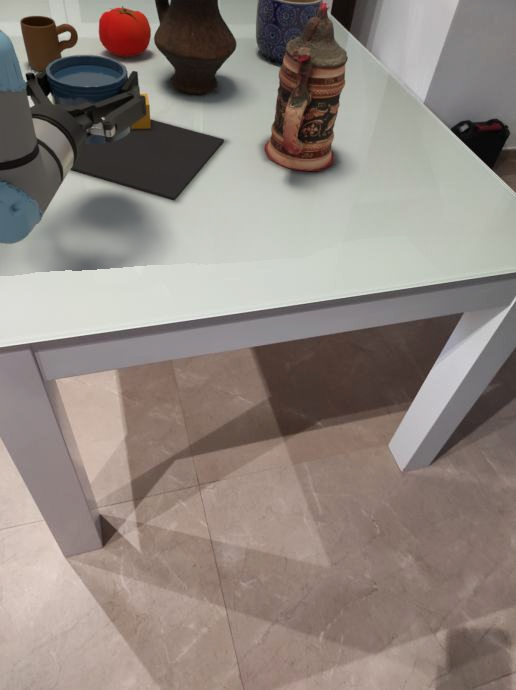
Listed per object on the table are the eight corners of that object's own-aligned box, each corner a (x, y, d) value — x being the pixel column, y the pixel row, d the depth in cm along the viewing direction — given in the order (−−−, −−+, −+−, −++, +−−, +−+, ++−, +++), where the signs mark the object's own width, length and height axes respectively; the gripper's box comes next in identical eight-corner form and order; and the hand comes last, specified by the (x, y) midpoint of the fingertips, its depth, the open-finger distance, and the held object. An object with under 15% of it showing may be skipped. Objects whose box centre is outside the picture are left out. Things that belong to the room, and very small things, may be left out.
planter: (321, 54, 144) (332, -7, 133) (299, 73, 134) (309, 8, 122) (268, 39, 147) (274, -22, 136) (242, 57, 137) (247, -8, 126)
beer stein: (303, 141, 115) (235, 150, 106) (328, -8, 97) (249, -12, 88) (352, 170, 105) (282, 183, 96) (391, 10, 87) (309, 7, 78)
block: (126, 129, 105) (123, 104, 101) (124, 117, 108) (122, 93, 104) (150, 128, 106) (149, 104, 102) (148, 117, 109) (147, 93, 105)
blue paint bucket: (42, 133, 76) (29, 75, 70) (81, 104, 83) (72, 49, 77) (110, 150, 75) (102, 93, 68) (143, 119, 82) (140, 65, 76)
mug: (83, 61, 125) (76, 17, 118) (81, 74, 120) (75, 29, 113) (31, 58, 123) (21, 14, 116) (27, 72, 118) (17, 26, 111)
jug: (249, 86, 125) (262, -68, 103) (202, 110, 115) (205, -56, 92) (182, 60, 132) (181, -91, 109) (131, 80, 121) (118, -82, 98)
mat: (55, 165, 95) (54, 162, 94) (119, 113, 110) (119, 110, 110) (174, 200, 91) (174, 197, 91) (223, 141, 107) (223, 139, 106)
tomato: (99, 45, 132) (93, -1, 125) (148, 45, 136) (146, 1, 128) (103, 63, 126) (97, 15, 118) (155, 62, 129) (153, 17, 121)
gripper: (-43, 162, 65) (24, 90, 79) (142, 187, 65) (175, 110, 80) (-65, 102, 59) (11, 36, 74) (138, 130, 60) (173, 59, 74)
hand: (96, 75), depth 77 cm, fingers closed on blue paint bucket, 11 cm apart
